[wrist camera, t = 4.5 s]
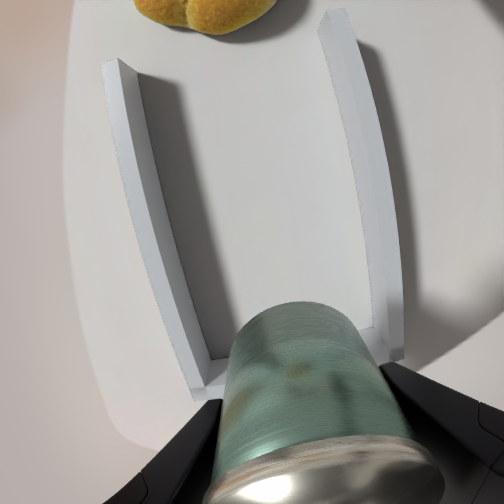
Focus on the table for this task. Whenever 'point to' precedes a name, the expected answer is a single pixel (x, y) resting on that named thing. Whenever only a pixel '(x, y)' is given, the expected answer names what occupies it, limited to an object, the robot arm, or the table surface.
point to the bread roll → (204, 13)
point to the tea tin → (314, 419)
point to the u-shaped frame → (162, 240)
